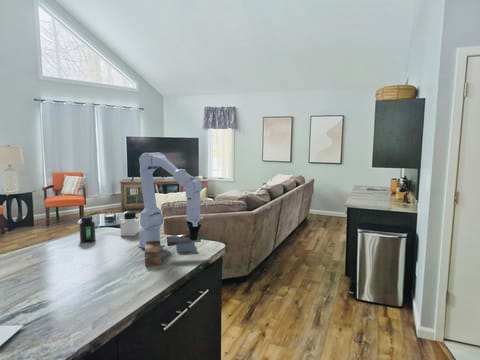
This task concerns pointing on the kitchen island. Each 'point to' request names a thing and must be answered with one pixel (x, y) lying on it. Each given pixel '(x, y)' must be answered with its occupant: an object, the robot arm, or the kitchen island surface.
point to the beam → (152, 253)
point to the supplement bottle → (87, 229)
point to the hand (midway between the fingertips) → (193, 238)
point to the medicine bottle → (129, 224)
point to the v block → (185, 247)
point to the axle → (181, 239)
